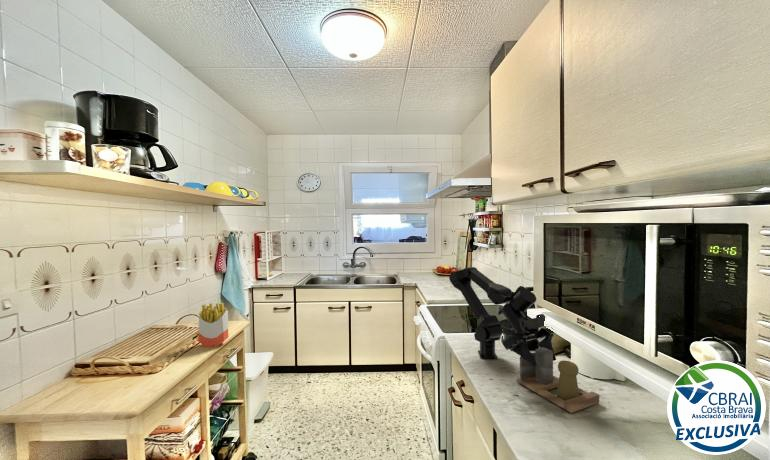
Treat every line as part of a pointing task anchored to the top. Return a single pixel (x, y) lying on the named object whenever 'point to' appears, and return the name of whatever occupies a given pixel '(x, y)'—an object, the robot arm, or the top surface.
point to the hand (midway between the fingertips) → (545, 362)
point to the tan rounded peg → (567, 380)
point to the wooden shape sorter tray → (550, 382)
